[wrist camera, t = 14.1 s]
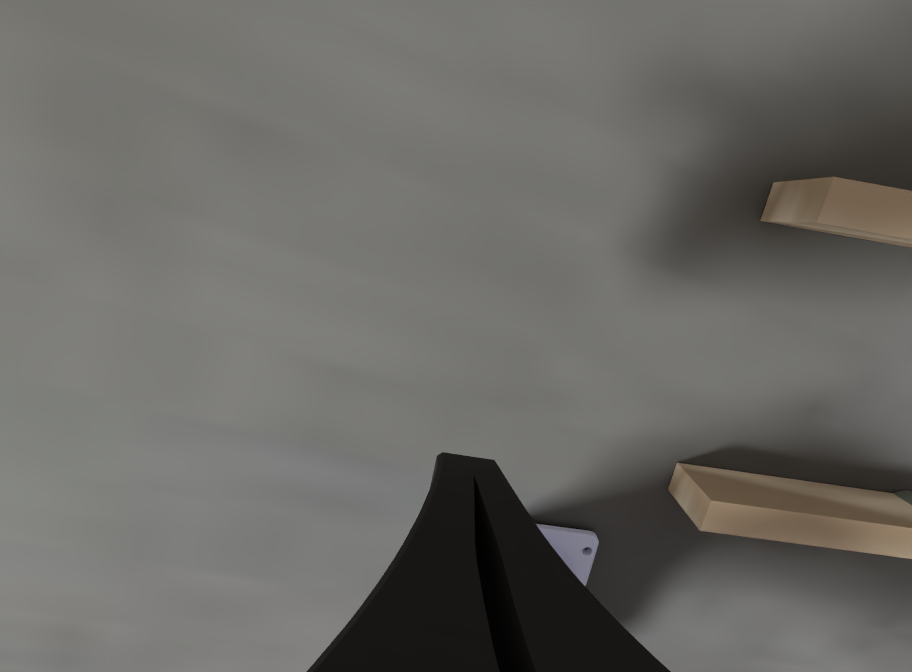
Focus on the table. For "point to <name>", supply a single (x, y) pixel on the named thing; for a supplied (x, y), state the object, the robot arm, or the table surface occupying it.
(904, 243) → the wooden matchsticks
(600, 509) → the table surface
